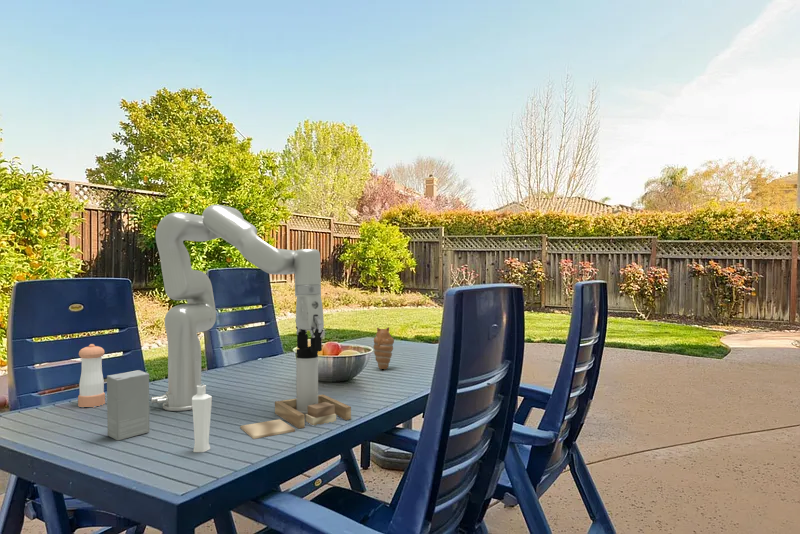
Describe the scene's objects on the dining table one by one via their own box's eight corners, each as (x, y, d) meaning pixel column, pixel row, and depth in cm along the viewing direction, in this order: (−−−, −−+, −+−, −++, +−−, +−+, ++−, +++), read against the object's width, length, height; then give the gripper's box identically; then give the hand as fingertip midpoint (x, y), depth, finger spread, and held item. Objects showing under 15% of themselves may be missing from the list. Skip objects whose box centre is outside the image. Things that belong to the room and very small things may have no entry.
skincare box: (138, 428, 139) (138, 369, 139) (151, 433, 134) (151, 372, 134) (104, 436, 132) (104, 374, 132) (116, 442, 128) (116, 377, 128)
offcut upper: (316, 417, 141) (316, 408, 141) (307, 414, 144) (307, 405, 144) (334, 413, 145) (334, 404, 145) (325, 410, 148) (325, 401, 148)
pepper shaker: (79, 404, 165) (79, 343, 165) (105, 401, 168) (105, 342, 168) (77, 409, 158) (77, 346, 158) (104, 406, 161) (104, 344, 162)
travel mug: (314, 417, 148) (314, 347, 148) (293, 416, 150) (292, 346, 150) (322, 411, 154) (322, 344, 155) (301, 410, 156) (301, 343, 156)
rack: (299, 428, 138) (298, 415, 138) (274, 413, 153) (274, 401, 153) (350, 419, 146) (350, 406, 146) (323, 405, 161) (323, 394, 161)
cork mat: (253, 439, 129) (253, 436, 129) (240, 428, 139) (240, 425, 139) (295, 431, 135) (295, 429, 135) (279, 421, 145) (279, 419, 145)
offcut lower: (312, 427, 140) (312, 418, 140) (305, 423, 145) (305, 414, 145) (336, 423, 144) (336, 414, 144) (328, 419, 148) (328, 410, 148)
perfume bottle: (214, 446, 124) (214, 383, 124) (208, 452, 120) (208, 387, 120) (195, 446, 124) (195, 383, 124) (188, 452, 120) (188, 387, 120)
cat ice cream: (375, 372, 214) (375, 328, 214) (370, 368, 222) (370, 326, 222) (396, 370, 217) (396, 327, 217) (390, 367, 225) (390, 326, 225)
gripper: (332, 291, 147) (334, 351, 147) (307, 290, 162) (309, 345, 161) (308, 292, 143) (309, 354, 143) (284, 291, 157) (286, 347, 157)
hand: (309, 349), depth 152 cm, fingers open, 9 cm apart
